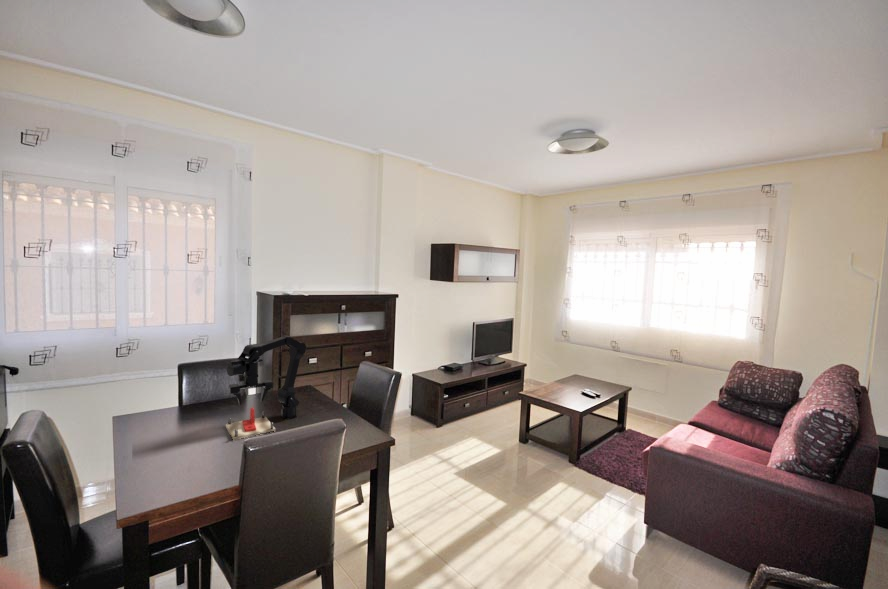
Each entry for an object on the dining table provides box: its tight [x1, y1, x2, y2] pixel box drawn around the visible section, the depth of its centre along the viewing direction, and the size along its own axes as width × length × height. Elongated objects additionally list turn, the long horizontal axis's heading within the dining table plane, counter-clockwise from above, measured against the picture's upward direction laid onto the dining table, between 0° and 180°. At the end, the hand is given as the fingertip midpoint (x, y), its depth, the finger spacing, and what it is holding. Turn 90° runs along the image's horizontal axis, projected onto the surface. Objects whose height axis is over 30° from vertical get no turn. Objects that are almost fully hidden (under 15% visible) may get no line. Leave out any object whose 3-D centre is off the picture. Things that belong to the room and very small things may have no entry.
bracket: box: [241, 407, 256, 432], centre depth 188 cm, size 12×4×8 cm, turn 33°
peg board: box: [225, 411, 276, 441], centre depth 189 cm, size 18×18×4 cm
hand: (251, 403), depth 188 cm, fingers open, 9 cm apart
